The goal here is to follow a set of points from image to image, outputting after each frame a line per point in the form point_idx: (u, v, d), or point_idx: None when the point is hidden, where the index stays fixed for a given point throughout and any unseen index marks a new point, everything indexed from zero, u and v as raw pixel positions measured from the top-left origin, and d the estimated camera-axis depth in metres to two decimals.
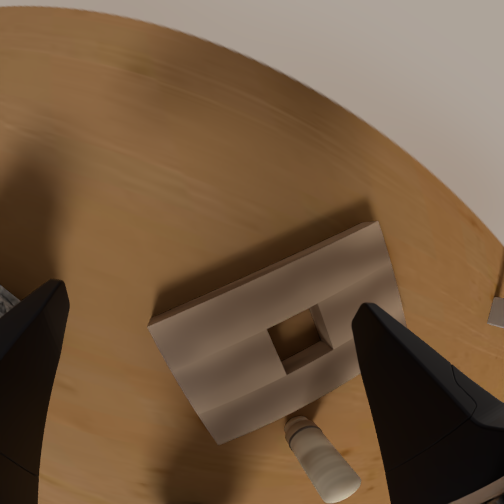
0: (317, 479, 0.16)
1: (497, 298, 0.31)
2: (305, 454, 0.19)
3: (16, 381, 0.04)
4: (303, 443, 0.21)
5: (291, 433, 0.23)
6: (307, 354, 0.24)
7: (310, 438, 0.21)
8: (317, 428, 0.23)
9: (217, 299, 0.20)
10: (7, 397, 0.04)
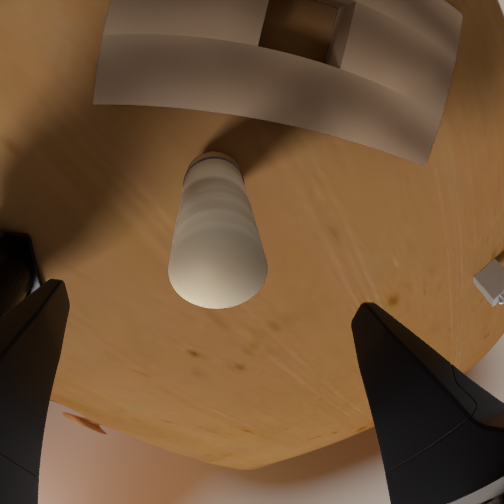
0: (187, 217, 0.10)
1: (497, 262, 0.26)
2: (199, 180, 0.12)
3: (16, 381, 0.04)
4: (208, 168, 0.13)
5: (200, 158, 0.15)
6: None
7: (223, 168, 0.13)
8: (241, 175, 0.15)
9: None
10: (7, 397, 0.04)
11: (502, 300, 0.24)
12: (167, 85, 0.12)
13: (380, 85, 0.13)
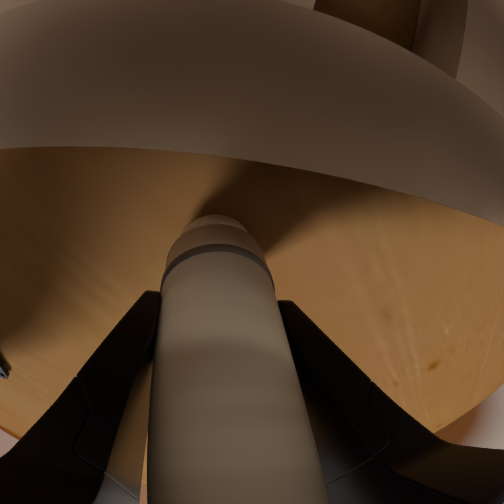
0: None
1: None
2: (188, 347, 0.05)
3: (137, 407, 0.05)
4: (205, 296, 0.06)
5: (189, 245, 0.08)
6: None
7: (239, 293, 0.06)
8: (270, 279, 0.08)
9: None
10: (131, 427, 0.04)
11: None
12: (107, 98, 0.05)
13: (500, 116, 0.06)
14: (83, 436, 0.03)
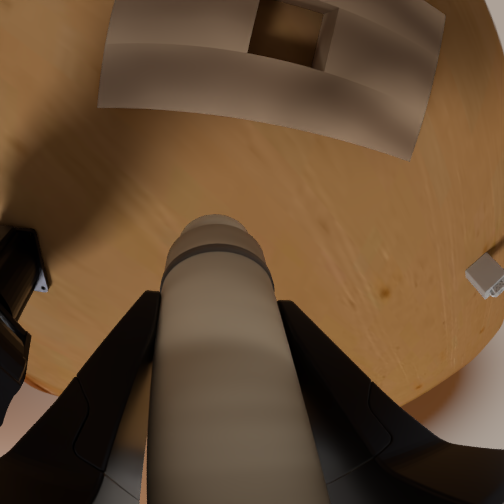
0: None
1: (489, 255, 0.27)
2: (187, 347, 0.05)
3: (137, 407, 0.05)
4: (205, 296, 0.06)
5: (189, 245, 0.08)
6: None
7: (239, 293, 0.06)
8: (270, 279, 0.08)
9: None
10: (131, 427, 0.04)
11: (494, 293, 0.25)
12: (165, 90, 0.13)
13: (363, 86, 0.14)
14: (83, 436, 0.03)
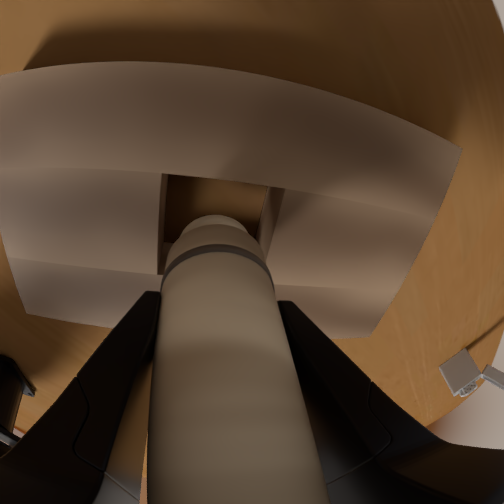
0: None
1: (467, 352, 0.26)
2: (187, 348, 0.05)
3: (137, 407, 0.05)
4: (205, 297, 0.06)
5: (189, 245, 0.08)
6: None
7: (239, 294, 0.06)
8: (270, 279, 0.08)
9: (105, 67, 0.07)
10: (131, 426, 0.04)
11: (463, 393, 0.24)
12: (81, 309, 0.12)
13: (314, 287, 0.13)
14: (83, 436, 0.03)
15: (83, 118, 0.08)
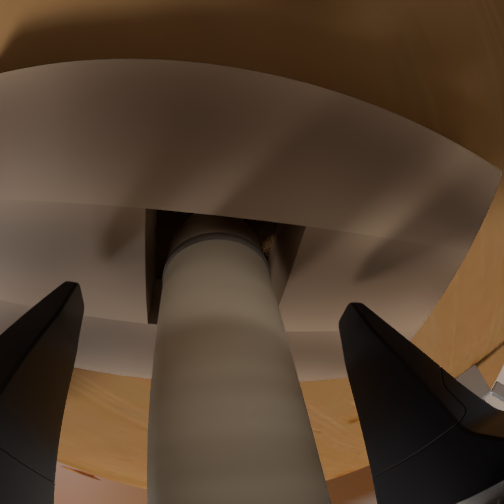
0: (170, 476, 0.03)
1: (477, 369, 0.24)
2: (188, 324, 0.06)
3: (34, 386, 0.04)
4: (205, 279, 0.07)
5: (190, 234, 0.08)
6: None
7: (237, 276, 0.07)
8: (267, 266, 0.09)
9: (68, 70, 0.05)
10: (25, 403, 0.04)
11: None
12: None
13: (331, 332, 0.11)
14: None
15: (44, 138, 0.06)
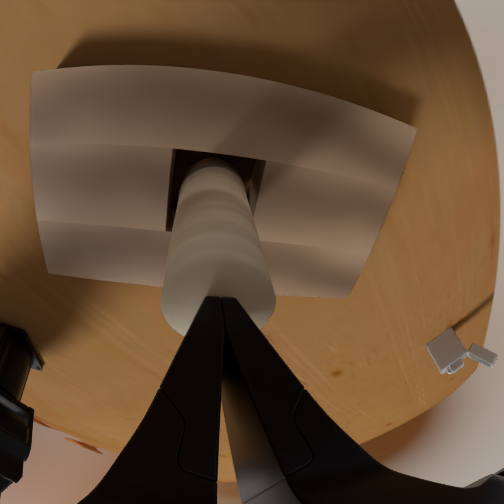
0: (182, 241, 0.08)
1: (453, 331, 0.29)
2: (196, 193, 0.11)
3: None
4: (206, 179, 0.12)
5: (197, 166, 0.14)
6: None
7: (223, 179, 0.12)
8: (243, 185, 0.14)
9: (131, 69, 0.10)
10: None
11: (450, 371, 0.27)
12: (99, 265, 0.15)
13: (293, 245, 0.16)
14: (186, 449, 0.03)
15: (113, 106, 0.11)
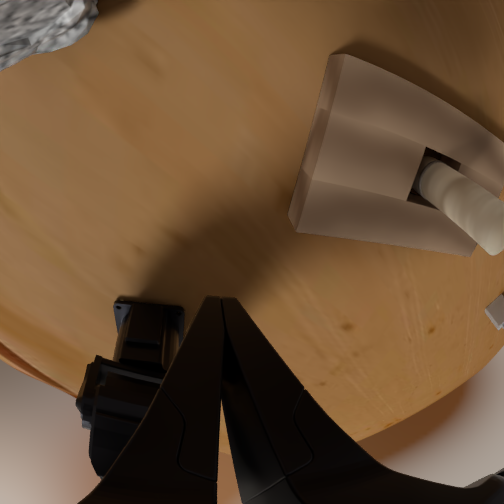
0: (486, 201, 0.13)
1: (503, 296, 0.34)
2: (460, 178, 0.15)
3: None
4: (452, 170, 0.16)
5: (429, 160, 0.18)
6: (418, 199, 0.21)
7: None
8: None
9: (415, 88, 0.14)
10: None
11: None
12: (351, 225, 0.20)
13: None
14: (186, 449, 0.03)
15: (402, 108, 0.15)
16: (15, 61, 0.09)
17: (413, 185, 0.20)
